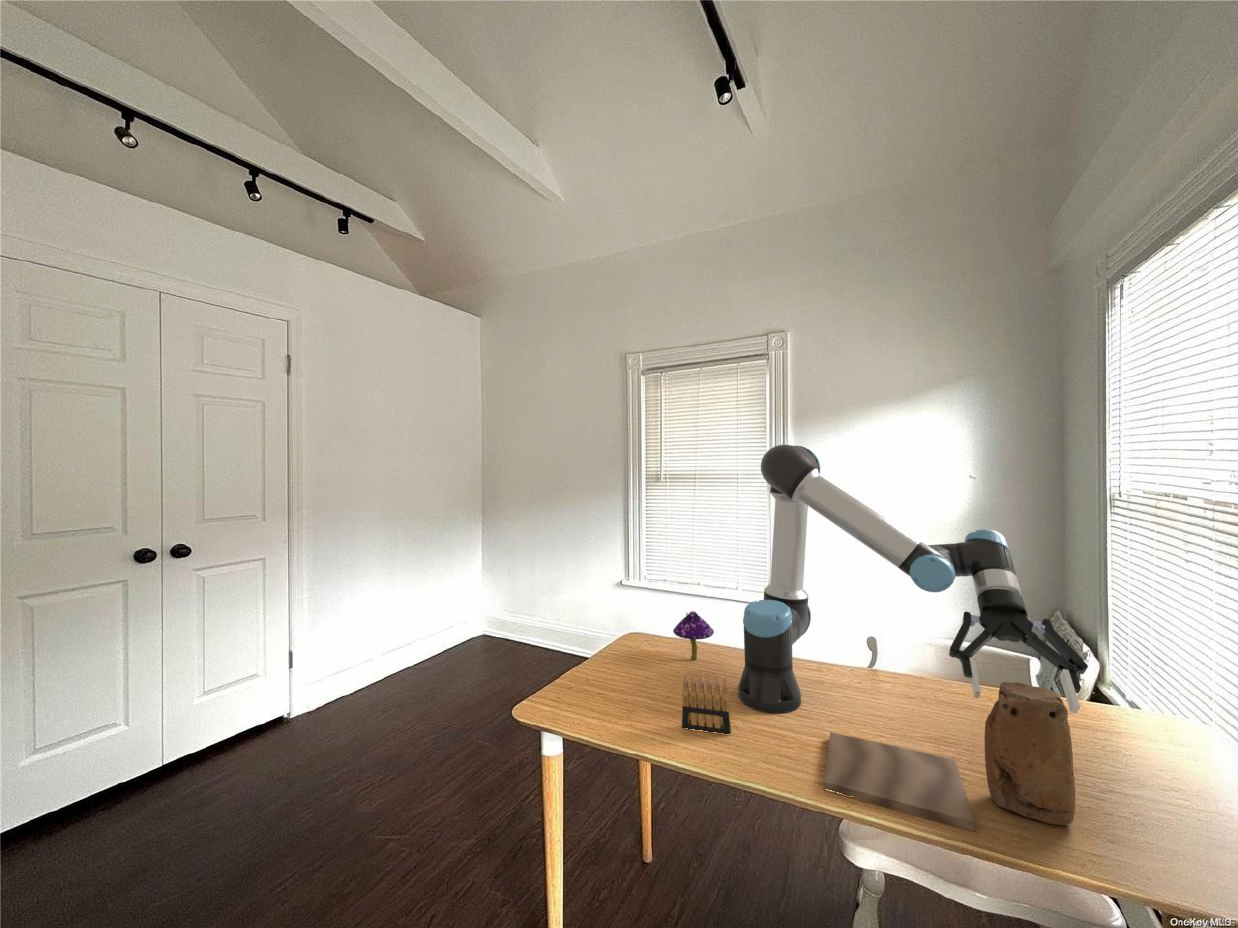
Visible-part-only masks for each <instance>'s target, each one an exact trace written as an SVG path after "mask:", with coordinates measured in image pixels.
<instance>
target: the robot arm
mask: <svg viewBox="0 0 1238 928" xmlns="http://www.w3.org/2000/svg"><path fill="white" fill-rule="evenodd" d="M760 461H761V463H760V472H761V475H762V477H763V479H764V480H765V481H766V483H767V484H768V485H769V486H770V488H769V489H770V490H769V493H770V495H771V496H772V497H773V498H774V514H773V515H774V517H773V533H772V547H771V548H772V550H771V551H772V552H771V564H770V566H771V567H770V579H769V581H770V582H769V584H768V585H767V586H765V587H764V590H763V599H760V600H758V601H757V600H755V601H752V602H750V603H748V604H747V605H746V606H745V607H744V611H743V618H742V622H743V623H742V624H743V641H744V642H743V643H744V646H743V647H744V648H743V649H744V651H743V652H744V667H743V671H742V674H741V677H740V679H739V682H738V690H737V691H738V698H739V699H740V701H741V702H742V703H743V704H745V705H746V706H748V707H750V708H751V709H752V708H753V709H754V710H757V711H762V712H765V713H774V714H776V713H778V714H780V713H781V714H782V713H790V712H793V711H795V710H797V709H799V708H800V707H801V705H802V694H801V693H802V692H801V690H800V687H799V684H798V682H797V679H796V676H795V673H794V670H793V669H794V668H793V667H794V666H793V645H794V644H795V643H796V642H797V641H798V640H799V639H800V638H801V637H802V636H804V635H805V634H806V632H807V631H808V629H809V628H810V624H811V620H812V612H811V608H810V606H809V594H808V592H807V591H806V589H804V578H805V576H804V575H805V574H804V573H805V559H806V544H807V543H806V542H807V528H808V526H807V525H808V511H809V508H811V509H812V510H813V511H815V512H817V513H818V514H819V515H821V516H822V517H824V518H825V519H827V520H828V521H829V522H831V523H832V524H833V525H834V526H837V527H839V528H840V529H841V530H843V531H844V532H846V533H847V534H848V535H850V536H851V537H852V538H854V539H855V540H857V541H859V542H860V543H862V544H863V545H865V546H866V547H867V548H868V549H870V550H872V551H873V552H874V553H876V554H877V555H879V556H880V557H882V558H883V559H885V560H886V561H887V562H889V563H891V564H892V565H894V566H895V567H896V568H898V569H899V570H900V571H901V572H903V573H904V574H905V575H907V576H908V577H910V578H911V580H912V582H913V583H914V584H915V586H917V587H918V588H919V589H921V590H923V591H925V592H928V593H941V592H944V591H947V589H948V588H951V585H953V584H954V581H955V579H956V578H957V577H971V578H972V580H973V585H974V591H975V595H976V597H977V598H976V601H977V604H978V609H979V615H973V614H971V612H969V611H964V612H963V614H962V615H963V616H962V624H961V626H960V627H959V630H958V631H957V633H956V636H955V638H954V639H953V641H952V644H951V646H950V648H949V650H948V651H949V652H948V656H949V657H951V658H956V659H957V660H959V661H960V663H961V668H962V674H963V675H964V678H970V682H971V688H972V694H973V698H976V699H980V696H981V694H982V691H981V685H980V680H979V674H978V670H977V665H976V660H975V659H976V658H975V657H974V656H975V655H976V654H977V653H978V652H979V651H980V650H981V649H982V648H983V647H984V646H985V645H986V644H987V643H989V642H990V641H991V640H992V639H993V638H995V639H996V640H998V641H1002V642H1006V641H1008V642H1013V643H1020V642H1022V643H1023V644H1024V645H1026V646H1027V647H1030V648H1031V649H1033V650H1034V651H1036V652H1037V654H1039V655H1040V656H1042V657H1043V658H1044V659H1045V660H1046V661H1048V662H1049V663H1050V664H1052V665H1053V666H1054V667H1055V668H1056V669H1058V670H1059V671H1060V674H1059V679H1060V682H1061V685H1062V688H1063V693H1064V696H1065V699H1066V702H1067V706H1068V709H1069V711H1070V713H1071V714H1077V713H1078V712H1079V710H1080V709H1081V706H1080V702H1079V699H1078V695H1077V694H1079V693H1080V691H1081V690H1082V686H1081V684H1080V680H1079V677H1078V674H1079V675H1084V674H1085V673H1086V671H1087V670H1088V668H1089V665H1088V664H1087V662H1086V661H1084V660H1083V658H1082V657H1081V656H1080V655H1079V654H1078V653H1077V652H1076V651H1075V650H1074V648H1072V647H1071V646H1070V644H1068V642H1067V641H1066V640H1064V638H1063V637H1062V636H1061V635H1060V634H1059V633H1058V632H1057V631H1056V630H1055V627H1054V626H1053V624H1052V622H1051V620H1050V619H1048V618H1043V619H1042V621H1041V620H1040V621H1036V620H1035V621H1033V620H1032V619H1031V618H1030V617H1029V615H1028V611H1027V608H1026V605H1025V601H1024V598H1023V596H1022V595H1023V594H1022V590H1021V587H1020V583H1019V580H1018V578H1017V573H1016V569H1015V566H1014V565H1015V564H1014V560H1013V557H1012V554H1011V550H1010V548H1009V545H1008V542H1007V540H1006V538H1005V536H1004V535H1003V534H1001V533H1000V532H999V531H996V530H992V529H985V528H983V529H977V530H975V531H971V532H969V533H967V535H966V536H965V538H964V541H963V542H956V543H939V544H926V543H925V542H922V541H921V540H920V539H918V538H917V537H915V536H913V535H912V534H911V533H909V532H908V531H906V530H905V529H903V528H901V526H898V525H897V524H895V523H893V522H892V521H891V520H889V519H888V518H886V517H885V516H883V515H881V514H880V513H878V512H876V511H875V510H874V509H872V508H871V507H869V506H868V505H867V504H865V503H863V502H861V501H860V500H858V499H857V498H855V497H854V496H852V495H850V494H849V493H847V492H846V491H844V490H843V489H841V488H840V487H837V485H835V484H834V483H832V482H830V481H829V480H827V479H825V478H824V477H823V476H821V463H820V459H819V458H818V456H817V455H816V454H815V453H814V452H813V451H812V450H811V449H809V448H806V447H805V446H801V445H792V444H791V445H790V444H779V445H775V446H772V447H771V448H769V449H768V450H767V451H766V453H764V455H763V457H762V458H761V460H760ZM976 624H979V625H980V626H981V627H982V628H983V629H984V630H983V631H982V632H981V633H979V634H978V636H976V638H974V640H972V642H970V643H969V644H968V645H967V646H966V647H965V648H964V649H963V650H961V648H962V646H963V643H964V641H965V640H966V639H967V636H968V634H969V632H970V629H971V627H974V626H976ZM1032 629H1035V630H1036V631H1038V633H1039V634H1040V635H1043V637H1044V638H1045V639H1046V641H1047V642H1048V643H1049V644H1050V645H1048V644H1047V643H1046V642H1045V641H1043V640H1042V639H1041V638H1039V636H1038V635H1037V634H1036V633H1035V632H1034V631H1032ZM1052 647H1053V648H1052Z"/></svg>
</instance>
